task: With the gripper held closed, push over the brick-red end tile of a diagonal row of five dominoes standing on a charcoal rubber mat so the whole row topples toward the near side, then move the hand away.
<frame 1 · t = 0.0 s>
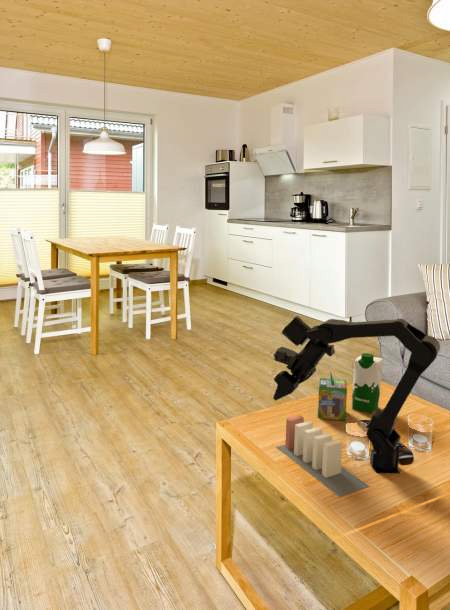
hand: (280, 394, 150), 15 cm above the table, tool tilted 35°, fingers open, 9 cm apart
domino 4: (321, 466, 138), resting on mat
domino 3: (311, 459, 141), resting on mat
mat: (319, 466, 139), on the table
domino 2: (302, 452, 145), resting on mat
juice carton: (331, 415, 172), on the table
domino 1: (293, 446, 149), resting on mat
milk carton: (365, 408, 177), on the table
domino 5: (331, 474, 134), resting on mat
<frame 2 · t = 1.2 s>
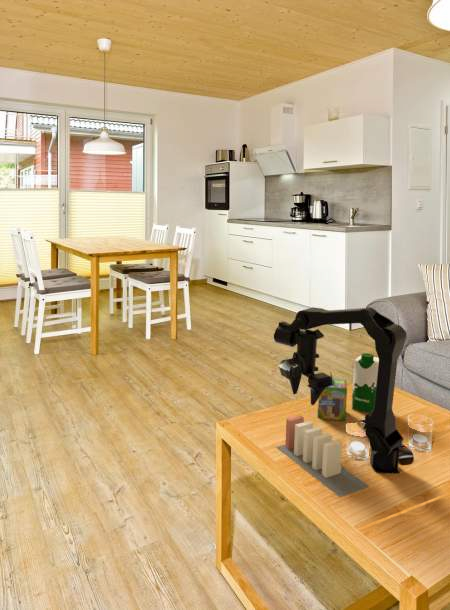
hand: (303, 399, 153), 12 cm above the table, tool pointing down, fingers open, 9 cm apart
nothing on the table moved.
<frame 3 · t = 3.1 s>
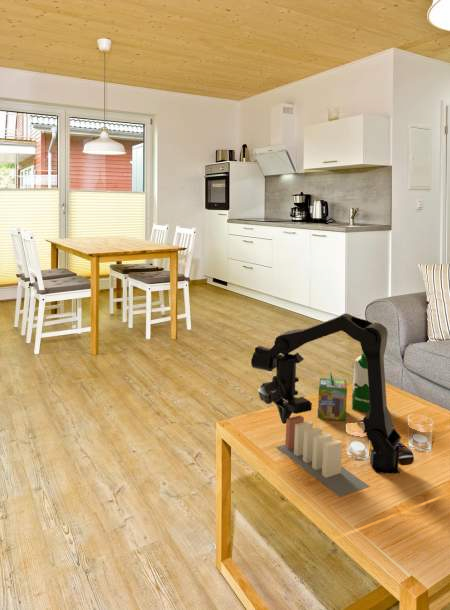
hand: (284, 423, 152), 6 cm above the table, tool pointing down, fingers closed
nothing on the table moved.
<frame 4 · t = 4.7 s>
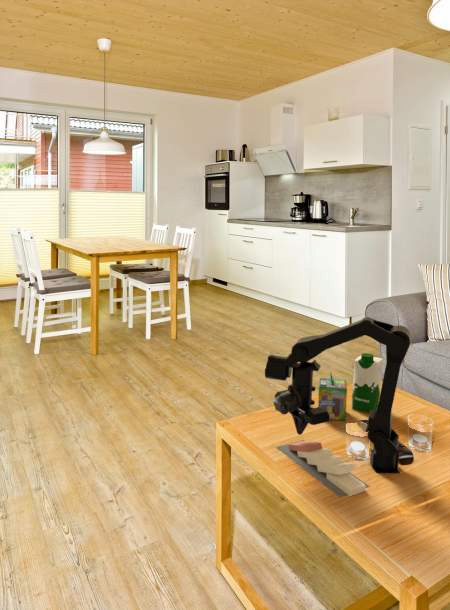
hand: (299, 434, 145), 5 cm above the table, tool pointing down, fingers closed
domino 4: (324, 466, 136), point 1 cm above the table, tilted 67°, touching domino 3, domino 5
domino 3: (314, 459, 140), point 1 cm above the table, tilted 67°, touching domino 2, domino 4, mat
domino 2: (304, 451, 144), point 1 cm above the table, tilted 68°, touching domino 1, domino 3, mat
domino 1: (295, 445, 148), point 1 cm above the table, tilted 68°, touching domino 2
domino 5: (333, 473, 133), point 1 cm above the table, tilted 90°, touching domino 4, mat
everything else where it was.
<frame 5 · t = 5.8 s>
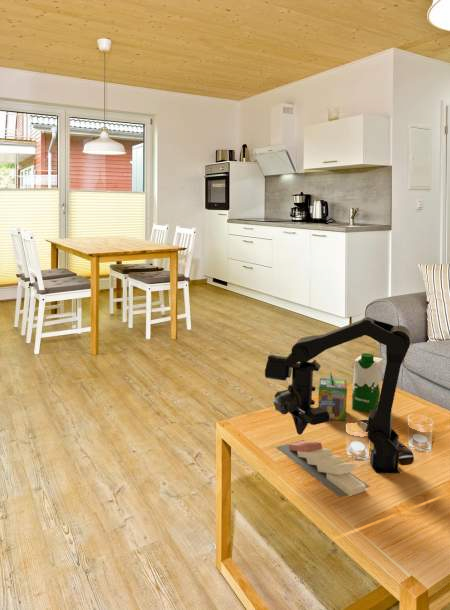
hand: (299, 433, 145), 6 cm above the table, tool pointing down, fingers closed
nothing on the table moved.
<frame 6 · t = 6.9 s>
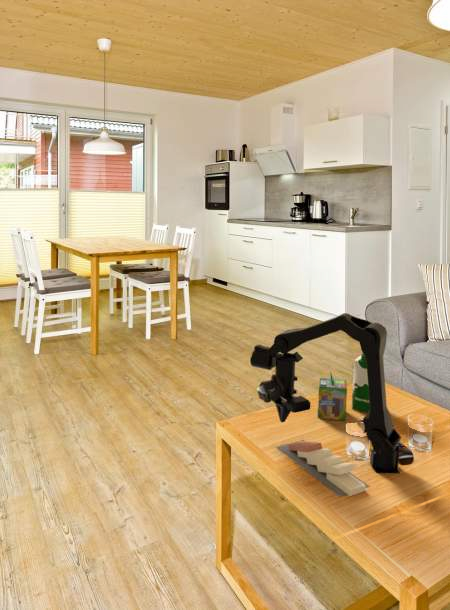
hand: (282, 421, 152), 6 cm above the table, tool pointing down, fingers closed
nothing on the table moved.
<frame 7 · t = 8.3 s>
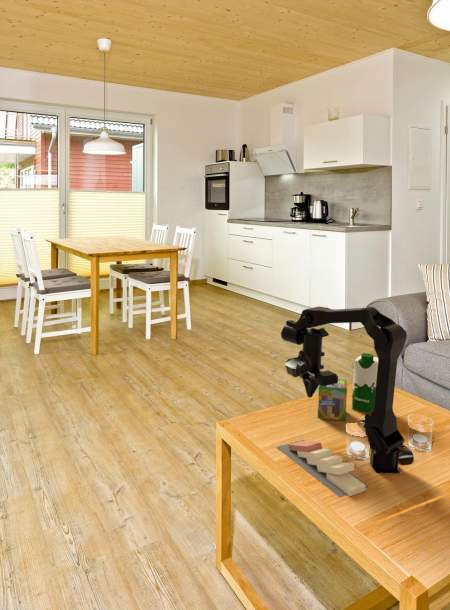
hand: (309, 397, 155), 12 cm above the table, tool pointing down, fingers closed
nothing on the table moved.
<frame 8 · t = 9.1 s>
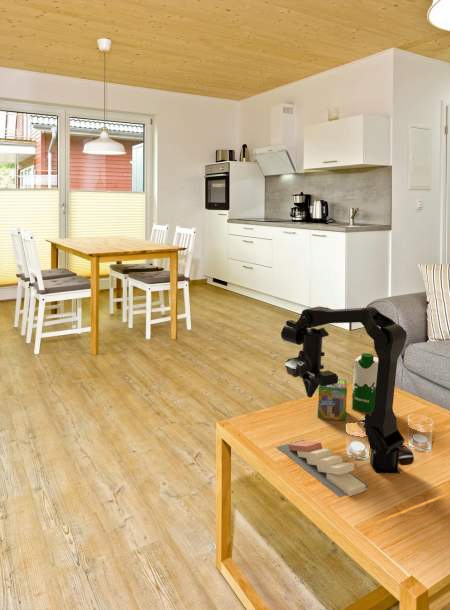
hand: (309, 397, 155), 12 cm above the table, tool pointing down, fingers closed
nothing on the table moved.
at the end: domino 5 tilted 90°; domino 1 tilted 68° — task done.
